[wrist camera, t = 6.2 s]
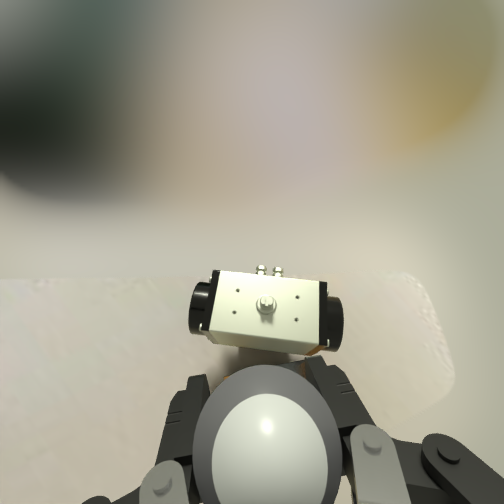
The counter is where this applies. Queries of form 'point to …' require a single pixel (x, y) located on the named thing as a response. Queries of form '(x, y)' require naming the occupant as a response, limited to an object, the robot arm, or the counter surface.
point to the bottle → (267, 441)
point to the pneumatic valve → (267, 312)
